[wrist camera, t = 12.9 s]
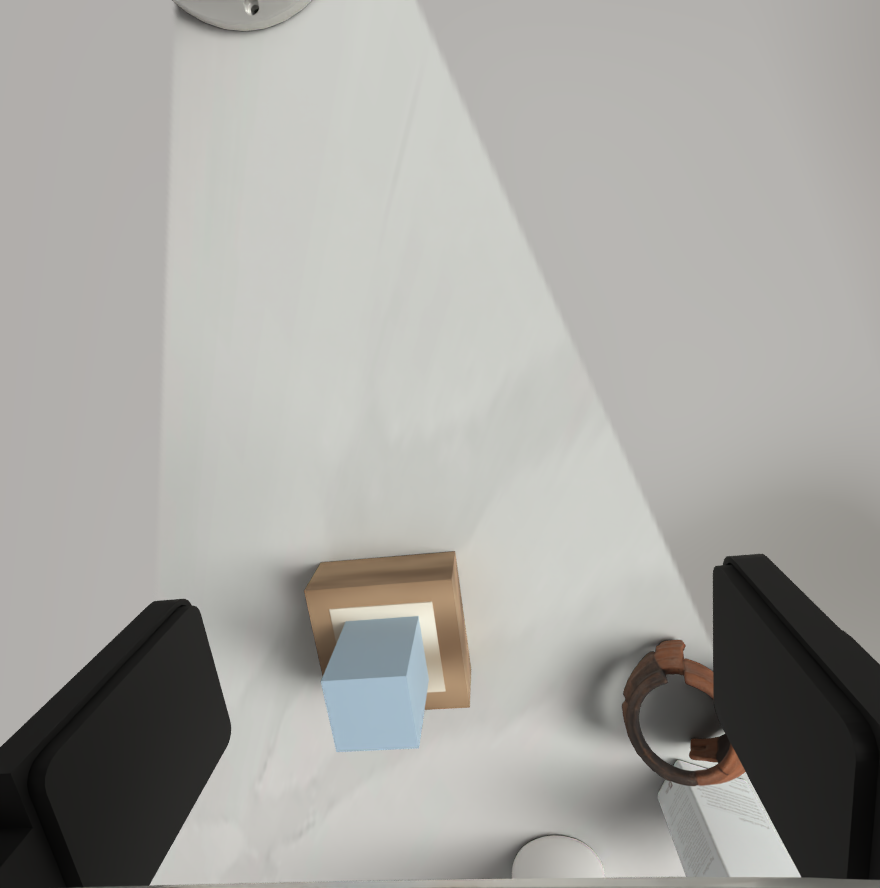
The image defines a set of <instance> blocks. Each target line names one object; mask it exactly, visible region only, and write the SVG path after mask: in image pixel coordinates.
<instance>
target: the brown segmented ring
mask: <svg viewBox="0 0 880 888" xmlns="http://www.w3.org/2000/svg"><path fill="white" fill-rule="evenodd" d="M684 648H685V644H684V642H683V641H682V640H670V641H663V642H661V643H660V645H658V646H656V652H652V651H651V652H649V653H647V654H646V656H645V657H644V658H643V659H642V660H641V661H640V662H639V664H638V665H637V666H636V667H635V669H634V670H633V672H632V673H631V675H630V677H629V679H628V681H627V683H626V686H625V688H624V691H623V695H624V696H625V701H624V702H623V704H622V710H623V717H624V722H625V725H626V729H627V733H628V737H629V739H630V741H631V743H632V745H633V747H634V748H635V750H636V752H637V754H638V755H639V756H640V757H641V758H642V760H643V761H644V762H645V763H646V764H647V765H648V766H649V767H650V768H651V769H652V770H653V771H654V772H656V773H657V774H658V775H659V776H661V777H662V778H664V779H665V780H667V781H672V782H674V783H677V784H680V785H685V786H697V785H699V786H705V785H715V784H721V783H725V782H728V781H731V780H733V779H735V778H737V777H739V776H740V775H742V774H743V773H744V772H746V771H745V770H744V768H743V766H742V764H741V762H740V760H739V758H738V756H737V754H736V752H735V751H734V749H733V747H732V745H731V743H730V741H729V739H728V737H727V735H726V733H725V734H724V735H722V736H720V737H715V738H707V739H695V738H694V739H691V751H690V753H689V757H690V758H691V759H693V760H702V761H709V762H718V764H717V765H716V766H714V767H711V768H709V769H704V770H696V771H689V770H683V769H680V768H677V767H674V766H672V765H670V764H668V763H666V762H665V761H664V760H662V759H661V758H660V757H658V756H657V755H656V754H655V753H654V752H653V751H652V750H651V749H650V747H649V746H648V744H647V743H646V741H645V739H644V737H643V735H642V732H641V729H640V724H639V712H640V707H641V704H642V702H643V700H644V698H645V697H646V696H647V694H648V693H649V692H651V691H652V690H653V689H655V688H656V687H658V686H660V685H663V684H666V683H668V680H667V678H666V675H667V674H680V675H683V676H684V679H685V683H686V684H687V685H690V686H693V687H695V688H697V689H699V690H701V691H703V692H705V693H706V694H708V695H709V696H710V697H711V698H712V699H713V700H714V697H713V671H711V670H710V669H708V668H707V667H705V666H704V665H702V664H700V663H697V662H695V661H692V660H689V659H684V656H683V650H684Z"/></svg>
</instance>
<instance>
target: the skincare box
mask: <svg viewBox="0 0 880 888" xmlns="http://www.w3.org/2000/svg"><path fill="white" fill-rule="evenodd" d="M674 767H677V768H680V769H683V770H689V771H696V770H704V769H706V768H703V767H700V766H697V765H693V764H690V763H687V762H683V761H680V760H677V761H676V762H675V764H674ZM658 801H659V803H660V806H661V809H662V812H663V814H664V817H665V820H666V823H667V825H668V828H669V831H670V834H671V836H672V839H673V842H674V844H675V847H676V850H677V853H678V855H679V858H680V861H681V864H682V866H683V869H684V872H685V875H686V877H801V876H800V874H799V872H798V870H797V868H796V866H795V865H794V863H793V861H792V859H791V858H790V856H789V854H788V852H787V850H786V849H785V847H784V845H783V843H782V842H781V840H780V838H779V836H778V835H777V833H776V831H775V829H774V828H773V826H772V824H771V822H770V820H769V819H768V817H767V815H766V814H765V812H764V810H763V808H762V806H761V805H760V803H759V801H758V799H757V797H756V796H755V794H754V792H753V790H752V788H751V787H750V785H749V783H748V782H747V781H746V780H743V779H739V778H735V779H733V780H731V781H728V782H725V783H721V784H715V785H705V786H699V785H697V786H685V785H680V784H677V783H674V782H672V781H667V780H665V781H664V783H663V785H662V787H661V789H660V791H659V792H658Z"/></svg>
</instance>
